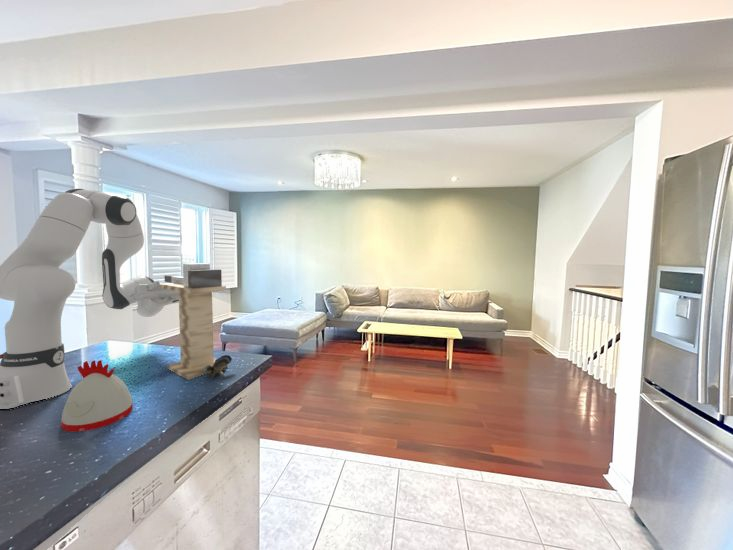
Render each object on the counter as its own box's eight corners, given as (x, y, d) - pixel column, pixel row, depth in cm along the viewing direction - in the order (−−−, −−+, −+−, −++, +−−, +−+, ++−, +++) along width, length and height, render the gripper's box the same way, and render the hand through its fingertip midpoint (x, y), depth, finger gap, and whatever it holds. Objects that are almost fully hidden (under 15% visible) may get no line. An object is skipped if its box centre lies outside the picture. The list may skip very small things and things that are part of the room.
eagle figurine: (228, 376, 102) (237, 362, 110) (214, 361, 100) (224, 348, 108) (210, 387, 102) (220, 372, 111) (196, 372, 100) (207, 358, 109)
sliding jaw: (158, 282, 119) (157, 262, 119) (177, 281, 125) (176, 261, 124) (190, 287, 104) (189, 264, 103) (210, 285, 110) (209, 263, 109)
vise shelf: (160, 365, 114) (156, 268, 111) (198, 355, 125) (195, 267, 123) (190, 381, 100) (187, 271, 97) (230, 368, 112) (228, 269, 109)
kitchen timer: (91, 404, 85) (88, 352, 84) (144, 402, 86) (141, 351, 85) (45, 433, 71) (40, 372, 70) (108, 430, 73) (104, 370, 72)
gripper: (127, 291, 120) (138, 276, 113) (182, 287, 137) (194, 273, 130) (130, 306, 119) (141, 291, 112) (185, 300, 136) (198, 286, 128)
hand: (170, 281), depth 121 cm, fingers open, 8 cm apart
